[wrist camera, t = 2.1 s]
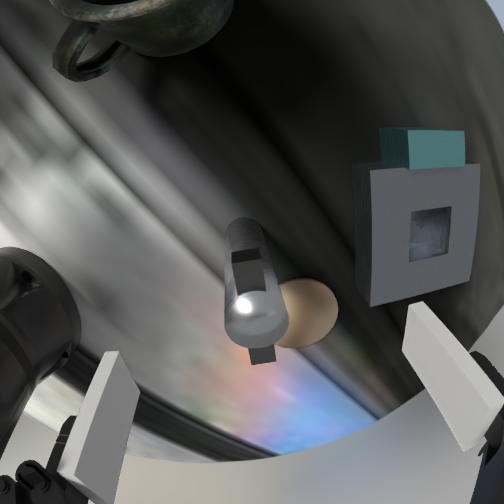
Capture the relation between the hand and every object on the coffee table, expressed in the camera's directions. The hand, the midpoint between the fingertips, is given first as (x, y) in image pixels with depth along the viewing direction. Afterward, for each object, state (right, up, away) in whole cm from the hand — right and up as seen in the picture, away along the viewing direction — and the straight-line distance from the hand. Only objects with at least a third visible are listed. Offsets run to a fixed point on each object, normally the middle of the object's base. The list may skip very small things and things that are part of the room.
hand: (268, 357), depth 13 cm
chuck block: (+14, +9, +14) cm, 22 cm away
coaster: (+4, -2, +18) cm, 18 cm away
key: (-1, +6, +14) cm, 16 cm away
